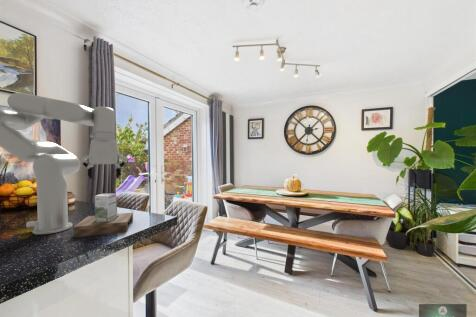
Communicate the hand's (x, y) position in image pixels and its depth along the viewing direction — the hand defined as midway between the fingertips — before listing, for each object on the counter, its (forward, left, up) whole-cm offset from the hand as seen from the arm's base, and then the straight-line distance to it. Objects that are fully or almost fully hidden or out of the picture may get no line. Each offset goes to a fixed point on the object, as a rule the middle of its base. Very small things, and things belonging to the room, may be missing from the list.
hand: (105, 177), depth 89 cm
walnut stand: (0, 0, -21) cm, 21 cm away
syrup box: (0, 0, -22) cm, 22 cm away
